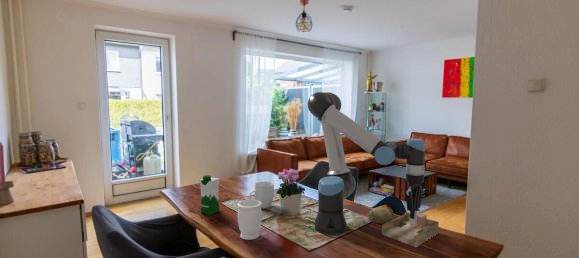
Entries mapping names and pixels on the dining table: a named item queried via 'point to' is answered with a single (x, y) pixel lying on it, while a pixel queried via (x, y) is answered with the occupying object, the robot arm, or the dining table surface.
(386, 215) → the pastry
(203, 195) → the milk carton
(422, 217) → the terracotta block
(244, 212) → the jar
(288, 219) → the dining table surface
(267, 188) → the mug
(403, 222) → the tray
